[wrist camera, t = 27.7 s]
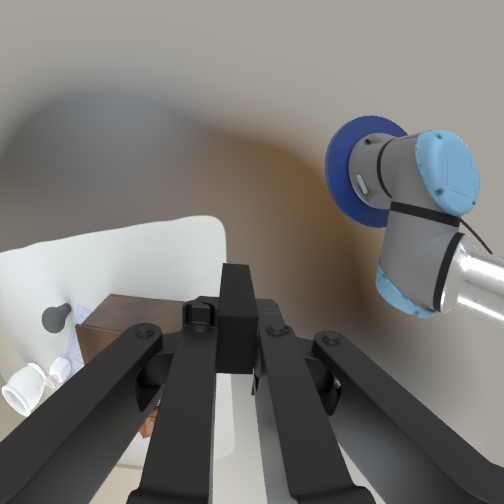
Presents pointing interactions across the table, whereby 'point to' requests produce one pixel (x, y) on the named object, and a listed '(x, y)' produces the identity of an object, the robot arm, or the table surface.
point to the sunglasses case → (149, 424)
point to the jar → (25, 388)
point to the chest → (136, 313)
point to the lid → (94, 340)
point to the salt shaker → (58, 372)
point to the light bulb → (55, 318)
